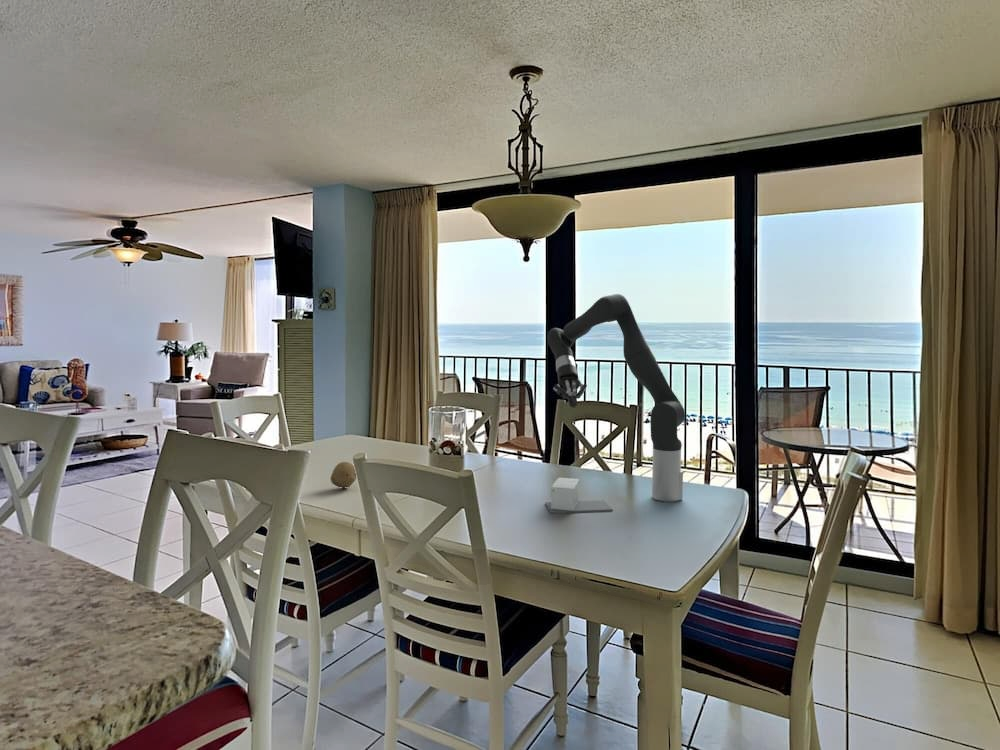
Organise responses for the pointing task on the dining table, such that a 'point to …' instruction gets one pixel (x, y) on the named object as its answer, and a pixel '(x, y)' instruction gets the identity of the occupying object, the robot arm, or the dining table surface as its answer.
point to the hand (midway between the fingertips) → (573, 406)
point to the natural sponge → (343, 475)
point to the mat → (584, 507)
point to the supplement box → (565, 494)
